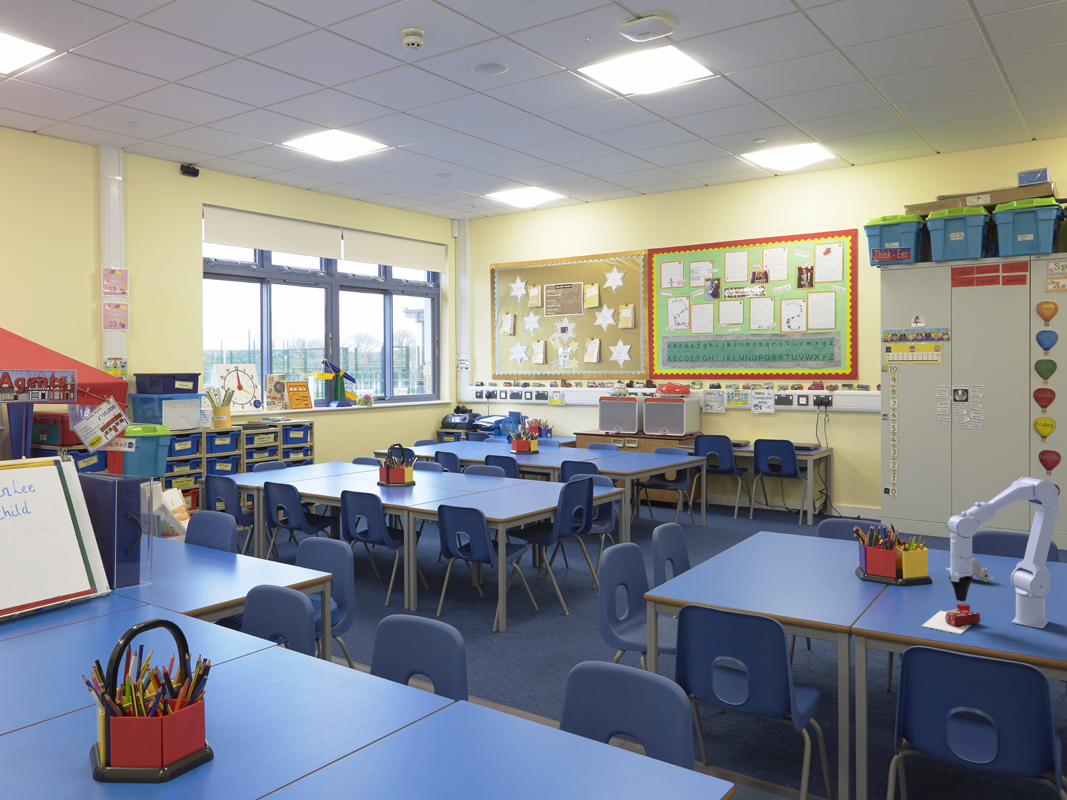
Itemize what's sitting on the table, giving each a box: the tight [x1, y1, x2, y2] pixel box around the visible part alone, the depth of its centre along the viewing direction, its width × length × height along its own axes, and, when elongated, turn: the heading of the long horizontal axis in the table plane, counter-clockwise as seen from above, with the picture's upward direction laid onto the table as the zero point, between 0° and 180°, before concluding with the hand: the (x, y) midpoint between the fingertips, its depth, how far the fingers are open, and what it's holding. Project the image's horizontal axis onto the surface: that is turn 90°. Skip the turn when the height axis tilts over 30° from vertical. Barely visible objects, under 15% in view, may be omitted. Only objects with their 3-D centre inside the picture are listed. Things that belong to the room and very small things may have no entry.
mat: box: [921, 610, 972, 635], centre depth 228 cm, size 19×11×1 cm, turn 136°
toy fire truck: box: [945, 602, 981, 627], centre depth 229 cm, size 3×14×10 cm
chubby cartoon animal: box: [969, 556, 994, 584], centre depth 273 cm, size 7×12×8 cm, turn 42°
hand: (961, 600), depth 226 cm, fingers closed
